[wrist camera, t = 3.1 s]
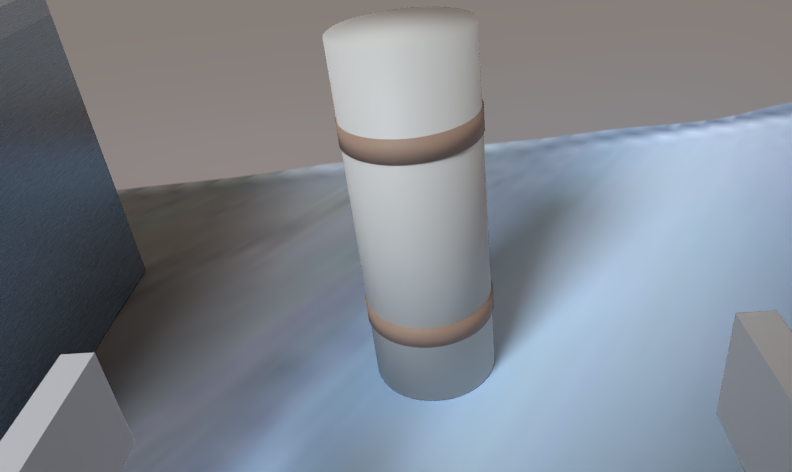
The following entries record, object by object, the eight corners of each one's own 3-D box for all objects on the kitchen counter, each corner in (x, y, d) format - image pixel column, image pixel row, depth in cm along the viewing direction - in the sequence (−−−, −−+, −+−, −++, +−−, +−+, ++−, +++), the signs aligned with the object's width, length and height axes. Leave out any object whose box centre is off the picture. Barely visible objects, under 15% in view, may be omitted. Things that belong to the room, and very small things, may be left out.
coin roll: (490, 317, 28) (474, 0, 22) (501, 398, 24) (485, 39, 18) (380, 324, 29) (331, 15, 22) (372, 405, 25) (309, 57, 18)
